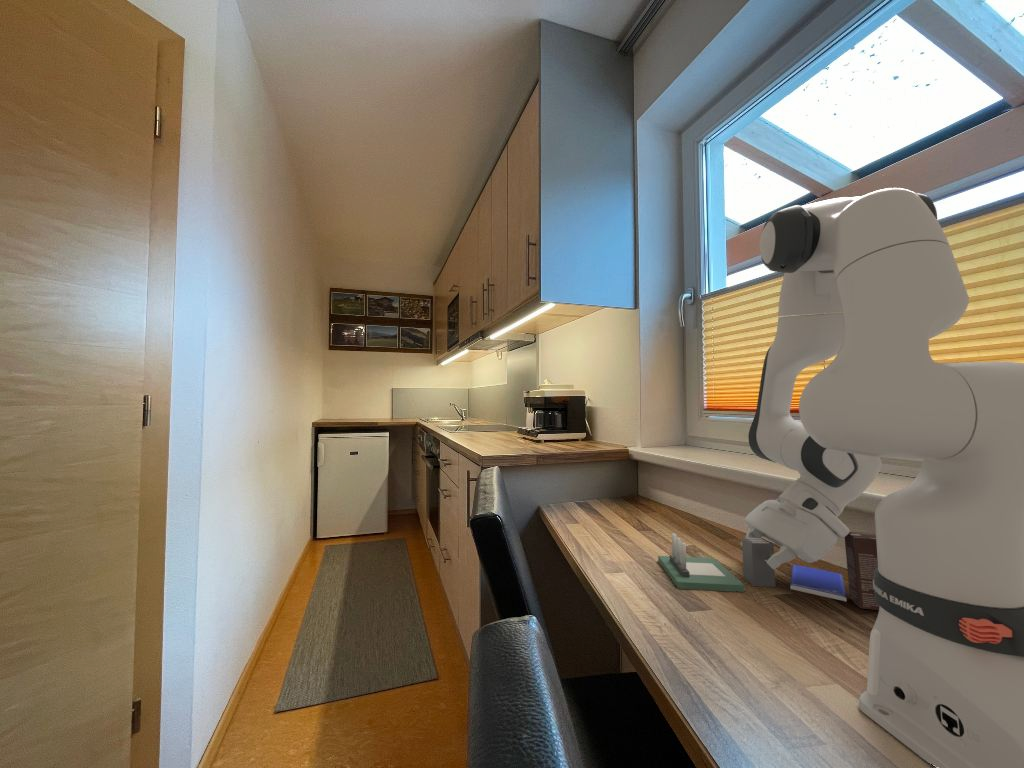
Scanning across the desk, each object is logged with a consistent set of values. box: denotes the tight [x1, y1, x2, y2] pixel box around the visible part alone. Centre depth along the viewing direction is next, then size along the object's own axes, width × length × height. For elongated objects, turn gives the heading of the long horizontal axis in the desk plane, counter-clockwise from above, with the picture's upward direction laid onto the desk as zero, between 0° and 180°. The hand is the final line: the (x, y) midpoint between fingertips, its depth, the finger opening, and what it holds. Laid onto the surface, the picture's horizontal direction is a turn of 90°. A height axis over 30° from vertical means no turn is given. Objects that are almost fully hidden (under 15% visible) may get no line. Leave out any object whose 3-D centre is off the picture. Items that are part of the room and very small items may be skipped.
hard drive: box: [789, 564, 847, 603], centre depth 77 cm, size 2×8×12 cm
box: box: [844, 531, 880, 611], centre depth 68 cm, size 6×4×12 cm
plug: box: [741, 536, 776, 588], centre depth 78 cm, size 4×4×8 cm
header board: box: [657, 533, 746, 593], centre depth 81 cm, size 14×12×7 cm
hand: (755, 556), depth 78 cm, fingers open, 8 cm apart
